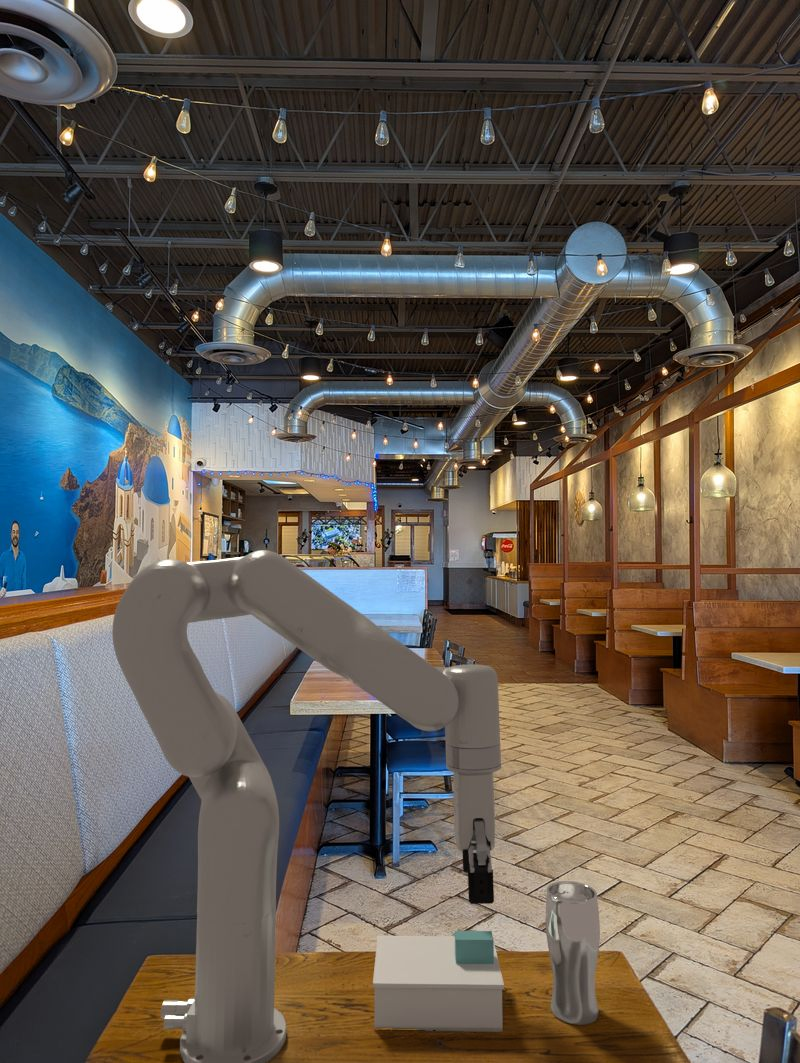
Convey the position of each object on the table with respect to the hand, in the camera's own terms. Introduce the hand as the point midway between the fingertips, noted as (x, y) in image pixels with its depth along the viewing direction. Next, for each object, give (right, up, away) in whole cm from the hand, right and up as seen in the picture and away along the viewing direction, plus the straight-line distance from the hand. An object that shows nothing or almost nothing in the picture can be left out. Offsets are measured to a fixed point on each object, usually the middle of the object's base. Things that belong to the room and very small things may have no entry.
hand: (477, 886), depth 91 cm
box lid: (-6, -10, -1) cm, 11 cm away
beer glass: (+12, -15, -3) cm, 20 cm away
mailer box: (-6, -15, -2) cm, 16 cm away
